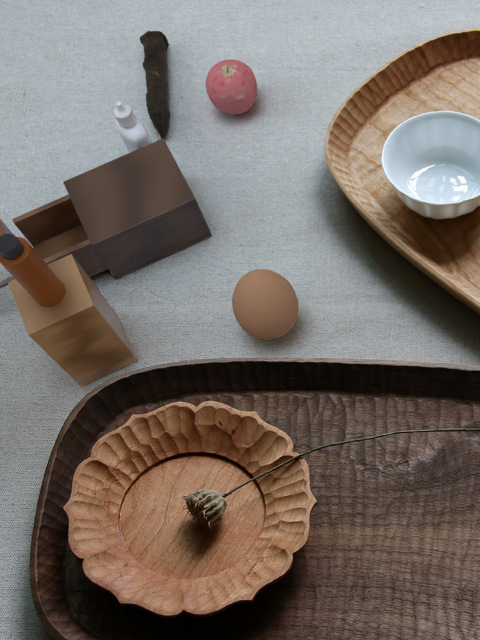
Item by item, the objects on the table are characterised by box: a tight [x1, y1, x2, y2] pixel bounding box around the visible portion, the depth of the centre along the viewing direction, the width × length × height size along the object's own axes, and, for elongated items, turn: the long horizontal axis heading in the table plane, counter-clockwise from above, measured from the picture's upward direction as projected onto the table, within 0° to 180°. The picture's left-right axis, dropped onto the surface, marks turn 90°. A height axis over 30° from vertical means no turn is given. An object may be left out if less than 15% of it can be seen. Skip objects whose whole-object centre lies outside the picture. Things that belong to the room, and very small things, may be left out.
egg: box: [231, 268, 300, 341], centre depth 103 cm, size 8×8×11 cm
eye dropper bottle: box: [113, 101, 154, 153], centre depth 115 cm, size 4×6×12 cm
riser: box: [8, 254, 139, 388], centre depth 101 cm, size 8×8×15 cm
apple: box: [205, 58, 258, 115], centre depth 120 cm, size 7×7×8 cm
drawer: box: [0, 193, 109, 290], centre depth 110 cm, size 18×10×7 cm, turn 118°
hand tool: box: [139, 30, 171, 140], centre depth 123 cm, size 19×4×5 cm, turn 7°
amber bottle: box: [0, 233, 65, 307], centre depth 90 cm, size 4×4×10 cm
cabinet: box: [63, 138, 213, 281], centre depth 112 cm, size 15×12×9 cm
